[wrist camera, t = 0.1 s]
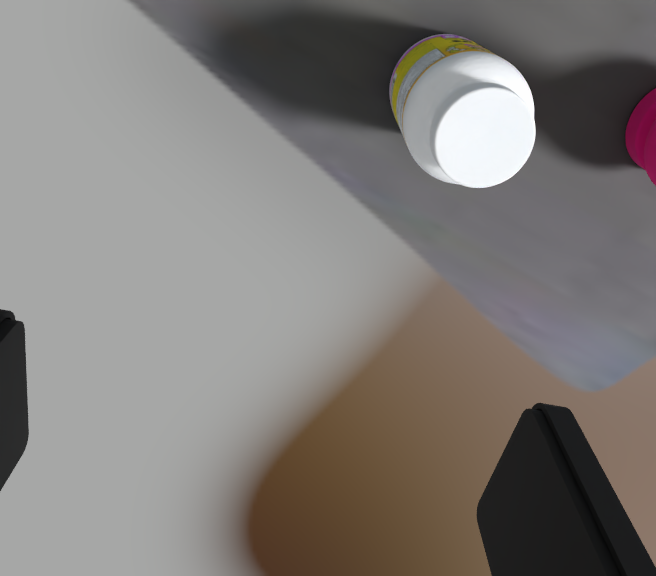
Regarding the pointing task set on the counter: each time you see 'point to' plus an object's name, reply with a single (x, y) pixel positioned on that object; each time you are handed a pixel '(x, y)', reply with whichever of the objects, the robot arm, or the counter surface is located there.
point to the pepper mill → (643, 134)
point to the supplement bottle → (462, 111)
